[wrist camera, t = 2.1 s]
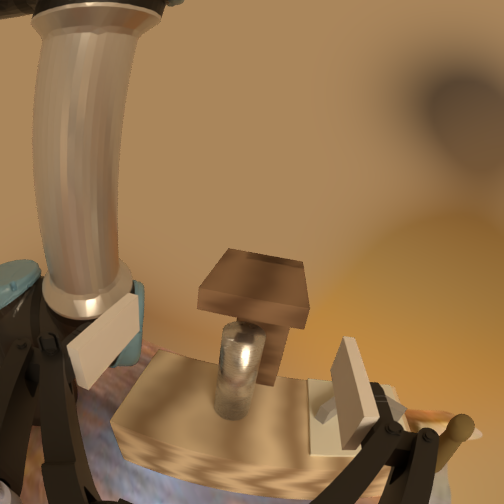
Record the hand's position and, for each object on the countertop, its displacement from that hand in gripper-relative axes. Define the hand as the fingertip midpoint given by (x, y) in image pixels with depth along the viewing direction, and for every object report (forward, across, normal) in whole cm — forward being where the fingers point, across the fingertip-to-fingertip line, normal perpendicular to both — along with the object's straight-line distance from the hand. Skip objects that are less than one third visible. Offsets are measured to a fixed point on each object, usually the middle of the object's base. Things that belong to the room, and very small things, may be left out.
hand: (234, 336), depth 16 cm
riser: (+10, +6, -28) cm, 30 cm away
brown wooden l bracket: (+12, +1, -18) cm, 21 cm away
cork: (+8, +36, -28) cm, 46 cm away
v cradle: (+11, +17, -18) cm, 27 cm away
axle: (+10, 0, -18) cm, 20 cm away
